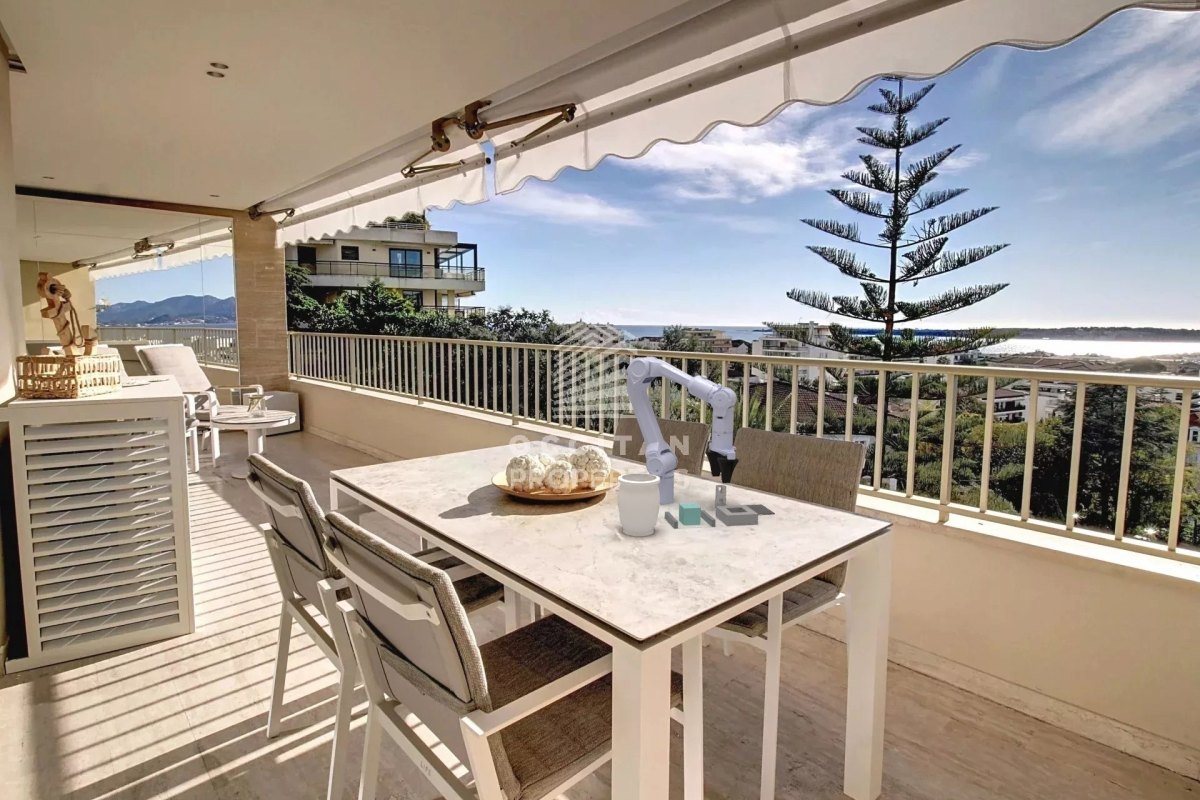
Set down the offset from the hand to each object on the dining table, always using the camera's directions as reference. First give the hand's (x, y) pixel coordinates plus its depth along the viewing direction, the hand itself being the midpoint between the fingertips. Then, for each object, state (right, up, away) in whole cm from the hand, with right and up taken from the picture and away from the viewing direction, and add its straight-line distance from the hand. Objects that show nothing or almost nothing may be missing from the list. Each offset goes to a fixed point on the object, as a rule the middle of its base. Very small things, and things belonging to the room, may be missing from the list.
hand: (720, 479), depth 178 cm
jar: (-24, -12, -18) cm, 32 cm away
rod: (+1, -10, +4) cm, 10 cm away
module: (-10, -10, -11) cm, 18 cm away
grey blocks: (-4, -11, -9) cm, 15 cm away
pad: (+10, -10, +5) cm, 15 cm away
